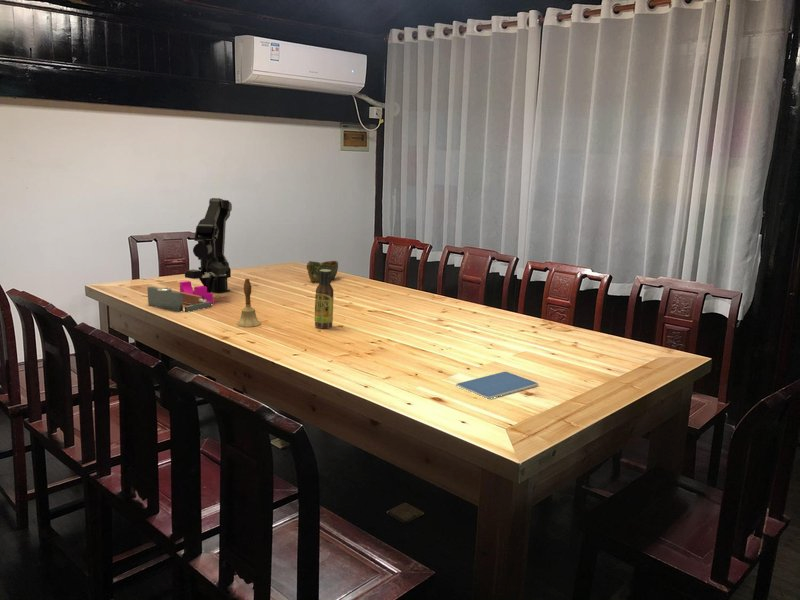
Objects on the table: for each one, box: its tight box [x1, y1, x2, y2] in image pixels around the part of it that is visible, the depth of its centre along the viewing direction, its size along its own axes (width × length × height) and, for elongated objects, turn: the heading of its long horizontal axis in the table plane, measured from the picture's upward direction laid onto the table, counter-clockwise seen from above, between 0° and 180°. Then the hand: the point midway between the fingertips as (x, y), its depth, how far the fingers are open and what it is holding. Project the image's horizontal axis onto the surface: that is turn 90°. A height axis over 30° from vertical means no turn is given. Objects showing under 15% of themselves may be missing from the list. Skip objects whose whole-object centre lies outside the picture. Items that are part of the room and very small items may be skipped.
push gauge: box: [147, 286, 212, 313], centre depth 248 cm, size 15×22×8 cm
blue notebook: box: [455, 371, 539, 400], centre depth 170 cm, size 19×13×1 cm, turn 128°
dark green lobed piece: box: [306, 260, 339, 284], centre depth 308 cm, size 13×20×10 cm, turn 123°
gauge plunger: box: [171, 289, 207, 305], centre depth 250 cm, size 2×20×4 cm, turn 56°
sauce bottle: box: [314, 269, 335, 329], centre depth 222 cm, size 6×6×20 cm
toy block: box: [179, 280, 214, 305], centre depth 255 cm, size 15×6×8 cm, turn 44°
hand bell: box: [236, 278, 262, 328], centre depth 223 cm, size 8×8×16 cm
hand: (208, 293), depth 260 cm, fingers closed
